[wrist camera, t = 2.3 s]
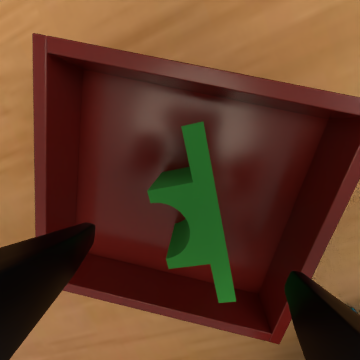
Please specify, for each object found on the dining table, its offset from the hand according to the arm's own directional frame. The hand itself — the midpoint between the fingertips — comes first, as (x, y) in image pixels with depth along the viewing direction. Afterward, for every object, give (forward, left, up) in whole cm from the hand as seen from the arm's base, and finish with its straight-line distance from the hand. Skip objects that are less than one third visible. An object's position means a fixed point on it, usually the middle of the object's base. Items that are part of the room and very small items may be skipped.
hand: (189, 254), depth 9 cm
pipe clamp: (0, 0, -7) cm, 7 cm away
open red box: (+1, 0, -7) cm, 7 cm away
